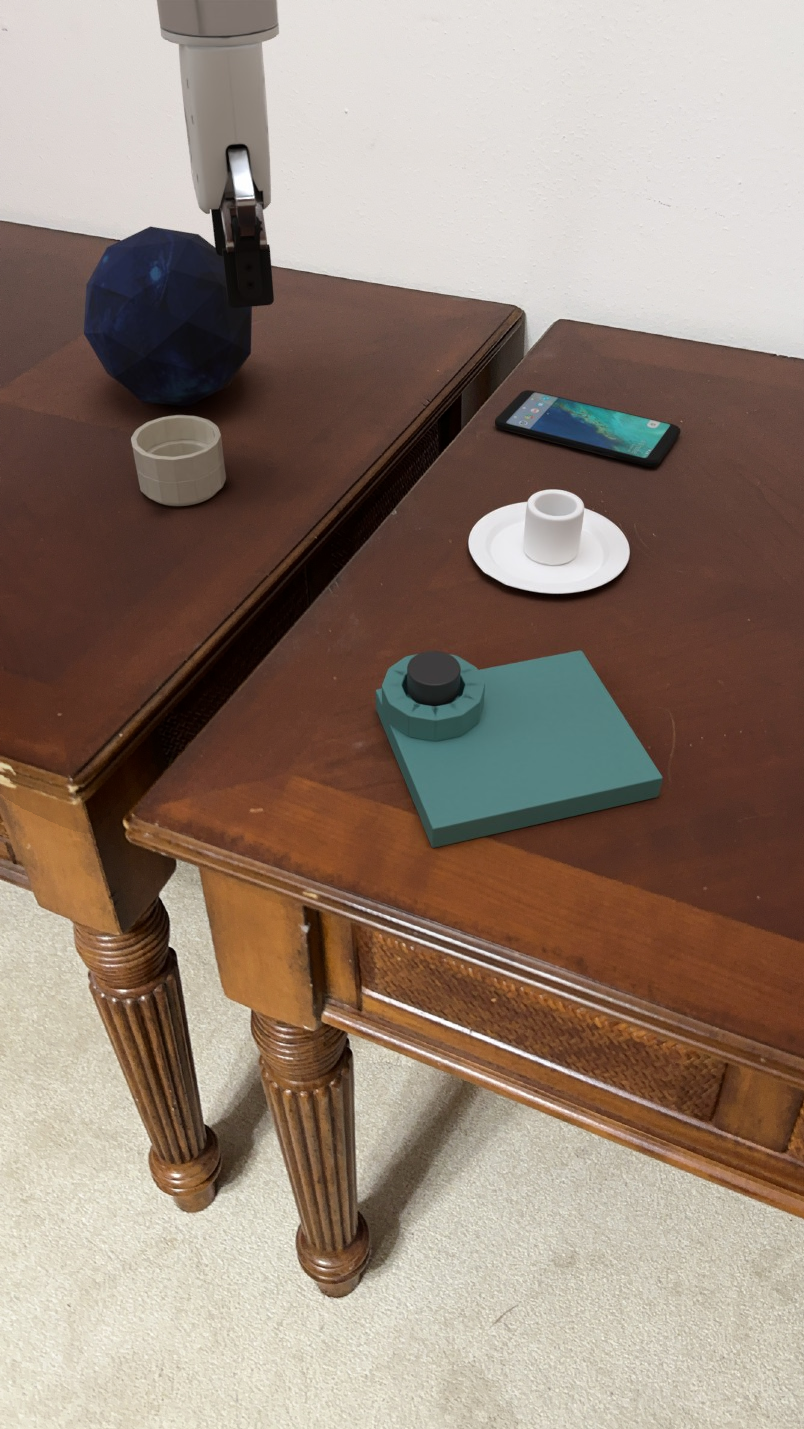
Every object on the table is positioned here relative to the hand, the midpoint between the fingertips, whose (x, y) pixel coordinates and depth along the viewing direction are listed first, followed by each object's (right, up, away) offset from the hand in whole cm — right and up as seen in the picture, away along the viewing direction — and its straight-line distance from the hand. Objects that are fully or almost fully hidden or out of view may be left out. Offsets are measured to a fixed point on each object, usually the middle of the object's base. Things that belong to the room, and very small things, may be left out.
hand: (243, 277), depth 81 cm
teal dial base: (+18, -34, -14) cm, 41 cm away
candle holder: (+23, -20, +2) cm, 30 cm away
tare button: (+14, -31, -14) cm, 36 cm away
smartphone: (+28, -8, +15) cm, 32 cm away
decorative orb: (-9, -3, +20) cm, 22 cm away
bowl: (-6, -14, +8) cm, 17 cm away
